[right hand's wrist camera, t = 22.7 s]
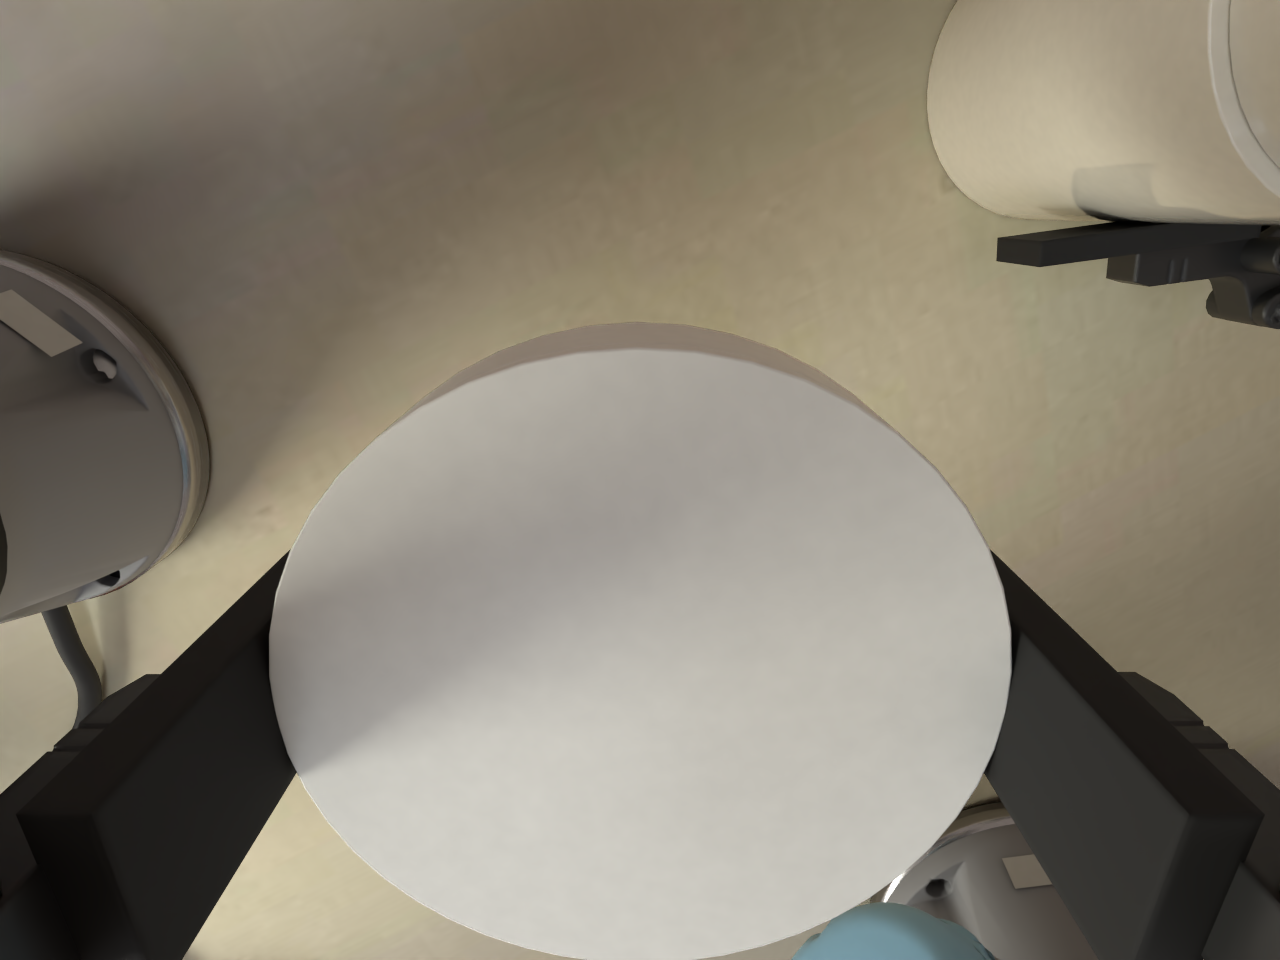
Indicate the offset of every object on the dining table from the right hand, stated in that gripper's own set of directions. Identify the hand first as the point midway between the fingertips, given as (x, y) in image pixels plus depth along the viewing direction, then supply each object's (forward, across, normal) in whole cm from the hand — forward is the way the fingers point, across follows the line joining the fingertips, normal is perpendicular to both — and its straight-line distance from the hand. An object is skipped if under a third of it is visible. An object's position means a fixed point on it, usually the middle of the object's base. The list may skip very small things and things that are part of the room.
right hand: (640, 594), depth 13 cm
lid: (-3, 0, 0) cm, 3 cm away
